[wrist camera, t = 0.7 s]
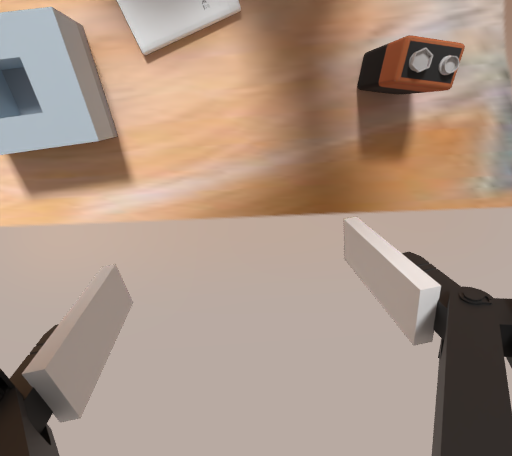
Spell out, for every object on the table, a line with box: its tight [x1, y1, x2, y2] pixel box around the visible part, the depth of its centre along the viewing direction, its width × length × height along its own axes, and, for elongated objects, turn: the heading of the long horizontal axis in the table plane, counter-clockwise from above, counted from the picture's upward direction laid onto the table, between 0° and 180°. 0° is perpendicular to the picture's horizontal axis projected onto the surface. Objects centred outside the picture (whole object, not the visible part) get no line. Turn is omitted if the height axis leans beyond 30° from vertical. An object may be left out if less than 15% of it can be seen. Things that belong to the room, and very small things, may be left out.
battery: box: [358, 36, 465, 94], centre depth 31 cm, size 4×7×10 cm, turn 85°
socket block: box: [0, 7, 118, 155], centre depth 30 cm, size 12×14×6 cm
